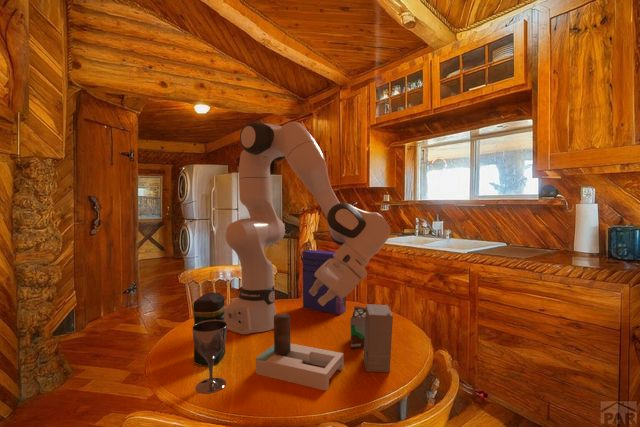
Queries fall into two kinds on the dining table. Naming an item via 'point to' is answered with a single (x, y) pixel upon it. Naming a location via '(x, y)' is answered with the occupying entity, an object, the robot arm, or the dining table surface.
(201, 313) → the coffee jar
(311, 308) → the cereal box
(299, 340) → the dining table surface
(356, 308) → the food container
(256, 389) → the dining table surface
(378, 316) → the skincare box
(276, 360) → the keyhole plate
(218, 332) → the wine glass
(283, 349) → the knob post
